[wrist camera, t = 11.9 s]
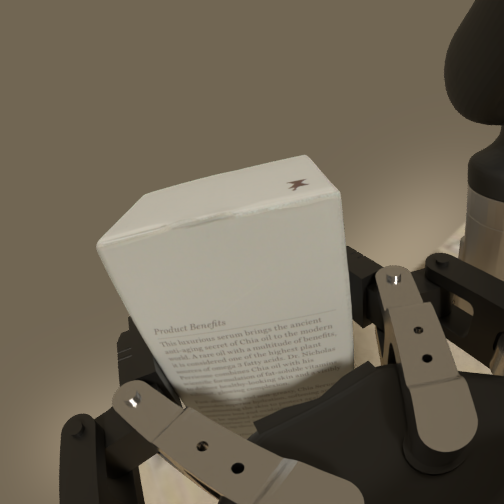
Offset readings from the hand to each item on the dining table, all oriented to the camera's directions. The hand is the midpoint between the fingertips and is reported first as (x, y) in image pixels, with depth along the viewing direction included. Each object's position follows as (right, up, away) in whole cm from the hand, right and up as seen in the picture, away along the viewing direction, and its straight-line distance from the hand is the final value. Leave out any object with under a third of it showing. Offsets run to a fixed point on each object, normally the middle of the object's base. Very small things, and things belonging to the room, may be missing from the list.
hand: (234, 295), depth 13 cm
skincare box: (+2, -7, +1) cm, 8 cm away
